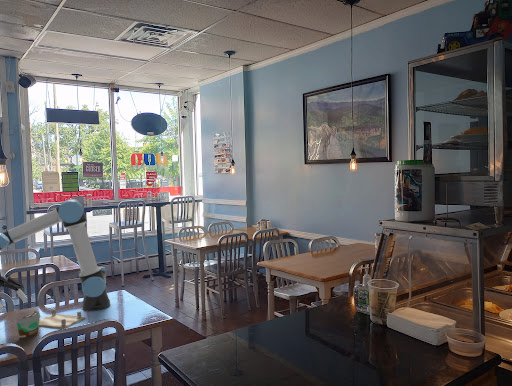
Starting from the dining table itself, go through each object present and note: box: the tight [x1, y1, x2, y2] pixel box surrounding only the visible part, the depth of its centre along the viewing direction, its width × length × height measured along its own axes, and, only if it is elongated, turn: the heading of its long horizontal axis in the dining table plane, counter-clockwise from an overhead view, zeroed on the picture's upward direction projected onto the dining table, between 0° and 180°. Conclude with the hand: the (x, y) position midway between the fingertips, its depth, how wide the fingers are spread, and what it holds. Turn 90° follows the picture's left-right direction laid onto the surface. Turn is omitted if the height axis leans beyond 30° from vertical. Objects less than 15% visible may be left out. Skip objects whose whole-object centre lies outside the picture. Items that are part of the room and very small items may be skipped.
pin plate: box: [39, 308, 86, 330], centre depth 211 cm, size 15×21×4 cm
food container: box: [15, 310, 41, 340], centre depth 193 cm, size 12×6×10 cm, turn 168°
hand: (13, 304), depth 196 cm, fingers open, 13 cm apart
